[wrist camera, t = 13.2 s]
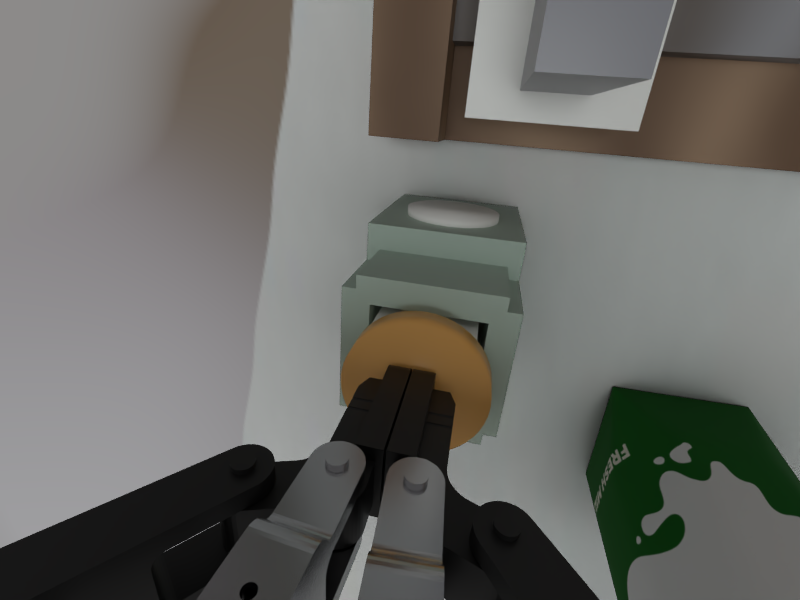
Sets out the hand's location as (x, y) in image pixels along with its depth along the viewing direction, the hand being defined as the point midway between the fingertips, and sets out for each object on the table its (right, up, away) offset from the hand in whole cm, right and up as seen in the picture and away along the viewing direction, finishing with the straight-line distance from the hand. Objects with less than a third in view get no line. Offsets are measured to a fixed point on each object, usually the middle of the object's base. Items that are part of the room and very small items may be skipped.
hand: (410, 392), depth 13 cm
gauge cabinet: (+3, +5, +10) cm, 12 cm away
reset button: (+1, +2, +4) cm, 4 cm away
